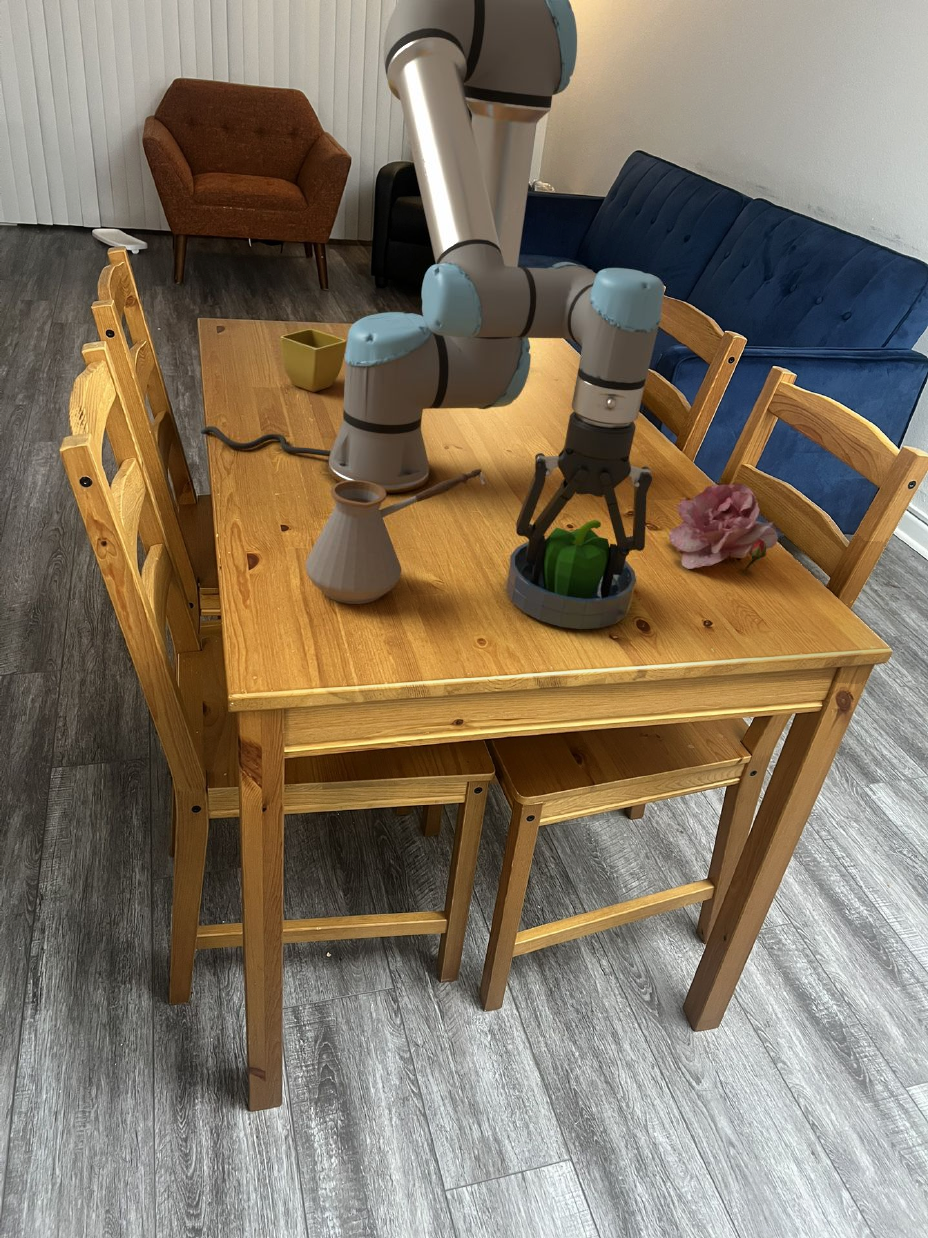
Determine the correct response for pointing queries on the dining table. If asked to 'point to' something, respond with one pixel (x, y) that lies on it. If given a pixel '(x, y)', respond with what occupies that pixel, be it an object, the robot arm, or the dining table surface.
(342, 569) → the coffee pot
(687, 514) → the flower
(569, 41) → the robot arm
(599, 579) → the bell pepper
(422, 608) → the dining table surface
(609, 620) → the bowl
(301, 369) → the flower pot
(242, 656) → the dining table surface
